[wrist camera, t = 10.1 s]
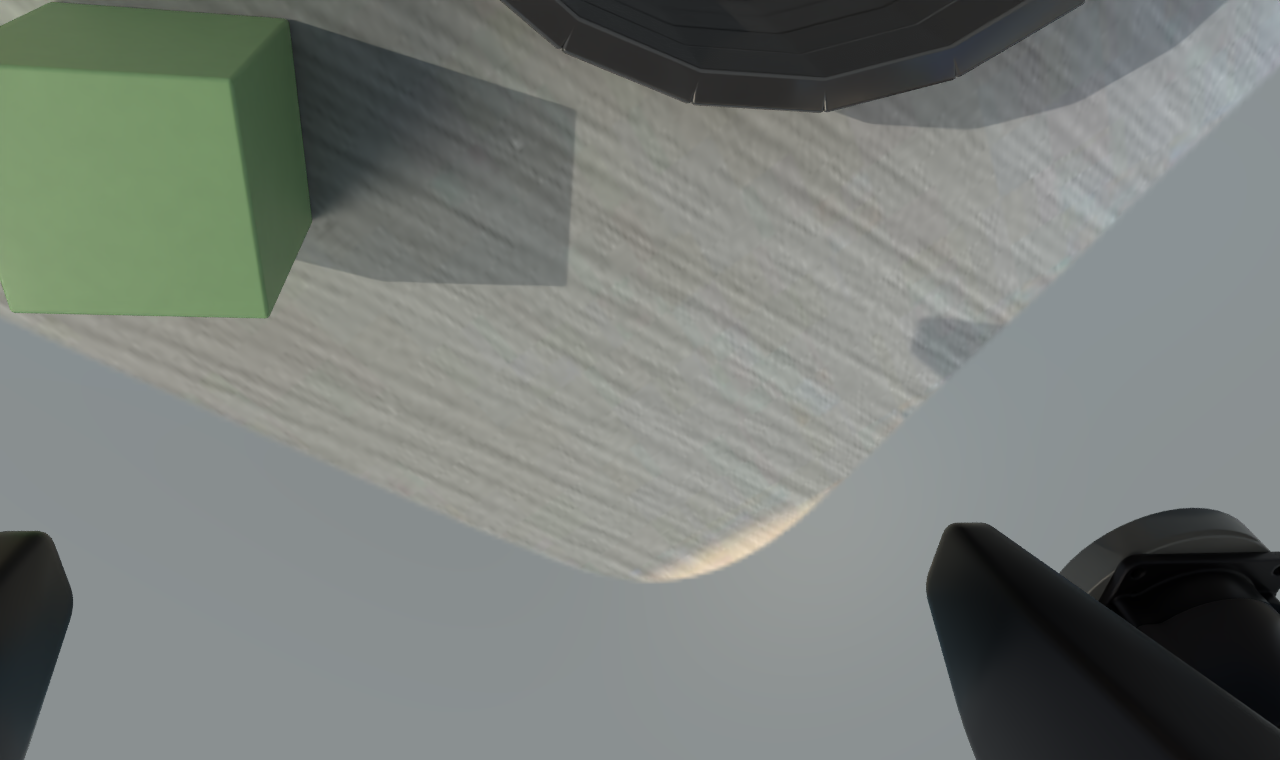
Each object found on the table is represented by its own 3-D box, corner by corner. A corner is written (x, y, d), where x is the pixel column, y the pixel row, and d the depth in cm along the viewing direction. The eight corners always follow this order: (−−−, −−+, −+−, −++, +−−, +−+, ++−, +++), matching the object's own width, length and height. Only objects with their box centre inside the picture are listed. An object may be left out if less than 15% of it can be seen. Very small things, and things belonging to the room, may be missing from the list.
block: (289, 18, 16) (232, 79, 13) (312, 223, 18) (269, 320, 15) (48, 1, 15) (-77, 60, 12) (102, 215, 18) (9, 314, 14)
